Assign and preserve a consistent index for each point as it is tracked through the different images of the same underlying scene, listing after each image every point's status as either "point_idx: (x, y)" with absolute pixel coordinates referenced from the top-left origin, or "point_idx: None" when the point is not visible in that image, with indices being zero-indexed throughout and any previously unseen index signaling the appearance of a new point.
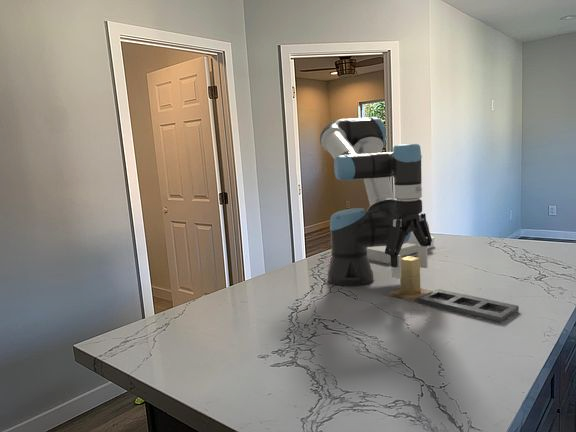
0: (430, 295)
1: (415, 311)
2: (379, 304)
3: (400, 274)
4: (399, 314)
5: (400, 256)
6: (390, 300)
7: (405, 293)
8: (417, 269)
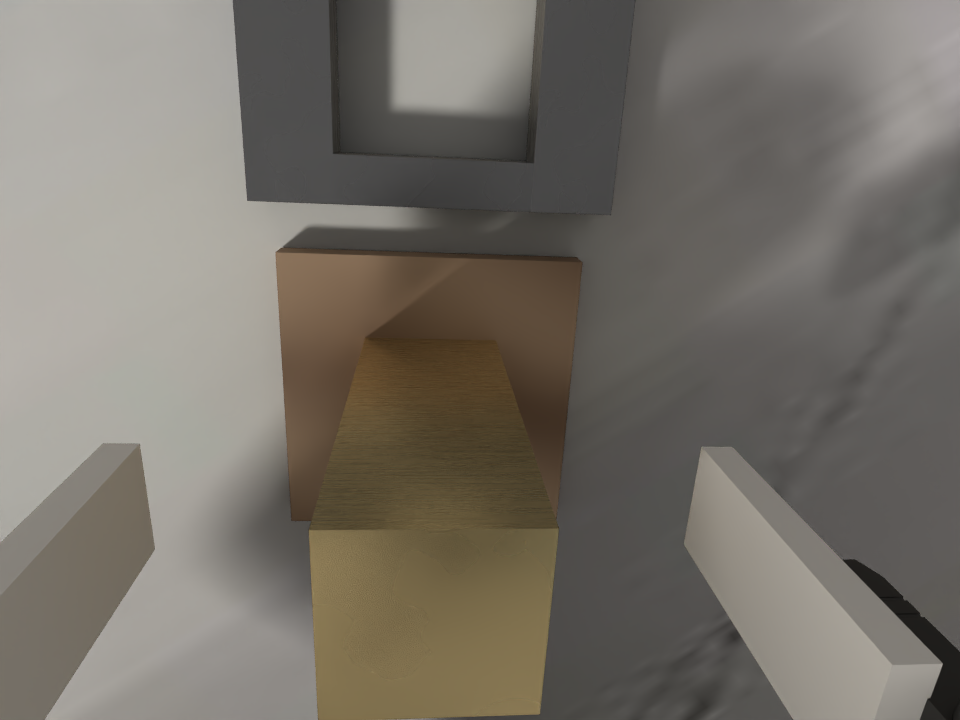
0: (479, 166)
1: (789, 132)
2: (769, 443)
3: (738, 472)
4: (906, 203)
5: (889, 650)
6: (649, 432)
7: None
8: (400, 439)
